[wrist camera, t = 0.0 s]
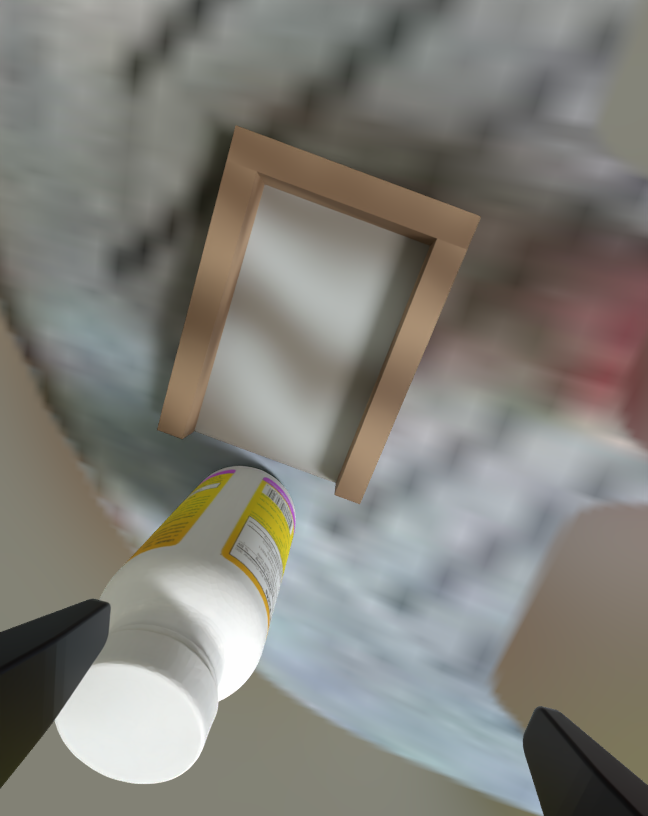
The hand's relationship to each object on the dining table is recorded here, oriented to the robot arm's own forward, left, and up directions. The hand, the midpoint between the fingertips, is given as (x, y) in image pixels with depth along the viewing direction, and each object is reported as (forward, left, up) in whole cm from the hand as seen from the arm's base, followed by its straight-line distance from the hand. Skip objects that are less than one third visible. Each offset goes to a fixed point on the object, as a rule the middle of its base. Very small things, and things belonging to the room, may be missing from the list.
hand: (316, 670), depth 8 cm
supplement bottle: (+6, -5, -15) cm, 17 cm away
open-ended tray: (-5, -3, -15) cm, 16 cm away
